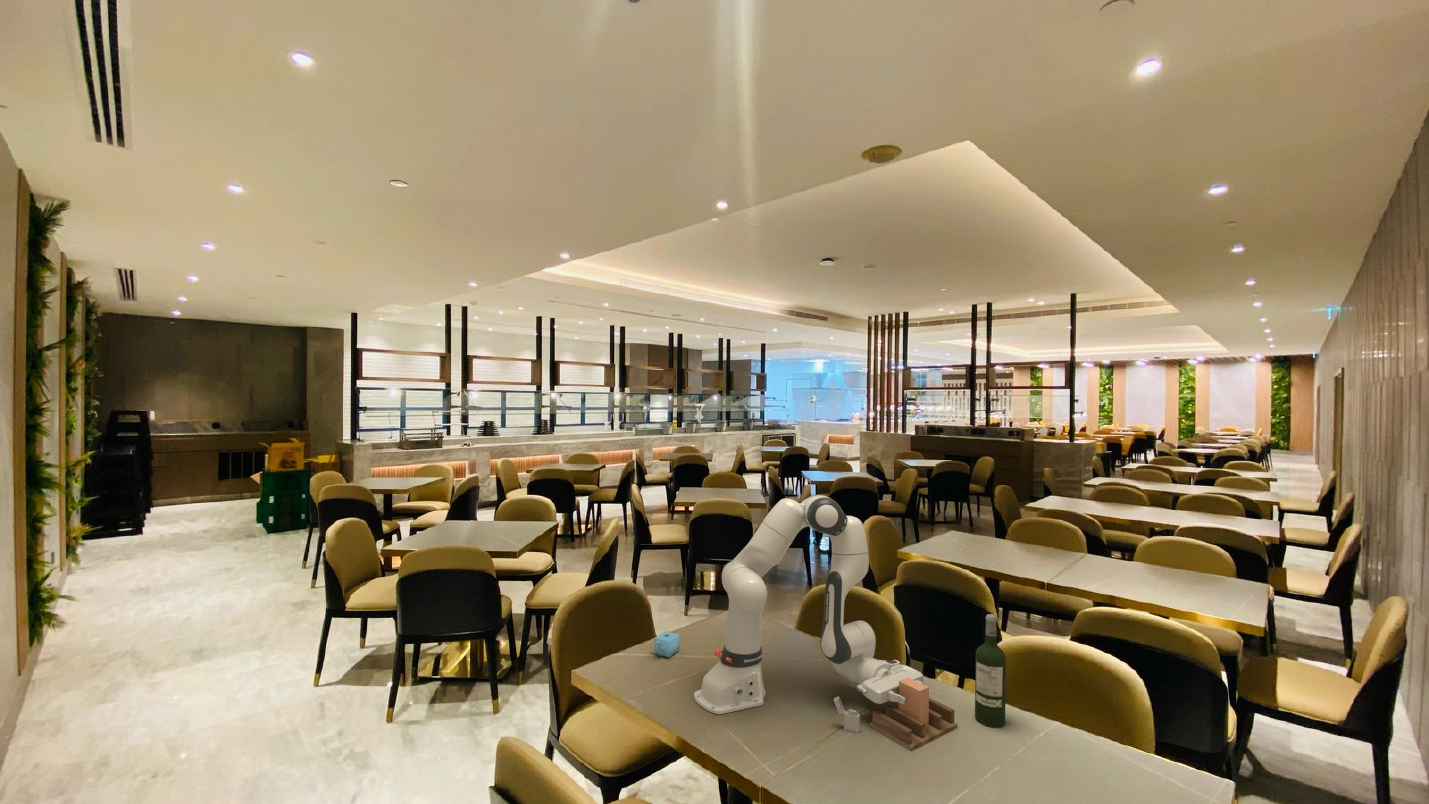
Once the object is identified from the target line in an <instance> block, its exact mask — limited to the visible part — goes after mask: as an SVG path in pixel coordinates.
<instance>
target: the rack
mask: <svg viewBox="0 0 1429 804" xmlns="http://www.w3.org/2000/svg"><path fill="white" fill-rule="evenodd" d="M869 727H870V728H872V729H873V730H875V731H877V732H879V733H880V734H882V735H884V736H886V737H887V738H889V739H890V738H891V739H890V740H892V741H894V742H896V743H897V744H899V745H901V746H903V747H904V746H905V747H904V748H906V749H908V750H909V749H910V750H909V751H911V752H912V751H913V750H916V749H918V748H919V747H921V746H924V745H925V744H926V745H927V744H928V743H930V742H932V741H934V740H936V739H937V738H939V737H941V736H943V735H944V736H945V734H947V733H950V732H951V731H953V730H955V729H958V723H956V722H955V709H953V708H952V707H949V706H947V705H945V704H944V703H941V702H940V701H937V700H935V699H933V698H931V697H929V727H927V728H925V723H923V722H921V721H919V720H917V719H915V718H913V717H912V716H910V715H908V714H906V713H904V712H902V711H900V710H899V708H896V707H895V706H893V705H890V704H888V705H886V706H885V714H884V713H882V712H881V711H878V710H874V711H872V722H869Z"/></svg>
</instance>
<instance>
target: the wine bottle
mask: <svg viewBox="0 0 1429 804" xmlns="http://www.w3.org/2000/svg"><path fill="white" fill-rule="evenodd" d="M997 620H998V619H997V616H996V615H995V614H991V613H989V614H986V616H985V636H984V637H985V638H984V639H985V640H984V642H983V644H981V645H979V646H978V647H977V648H976V651H975V667H974V668H975V669H974V670H975V675H974V676H975V679H974V680H975V681H974V682H975V683H974V717H975V720H976V721H977V722H978V723H980V724H981V725H983V726H986V727H988V728H994V729H995V728H996V729H997V728H998V729H999V728H1002V727H1003V726H1004V725H1006V698H1007V696H1006V691H1007V689H1006V687H1007V686H1006V683H1007V682H1006V681H1007V679H1006V678H1007V656H1006V654H1005V652H1004V651H1003V650H1002V648H1001V647H1000V646H999V644H998V640H997Z"/></svg>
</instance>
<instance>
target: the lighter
mask: <svg viewBox="0 0 1429 804" xmlns="http://www.w3.org/2000/svg"><path fill="white" fill-rule="evenodd" d="M833 702H834V704H835V707H836V709H837V712H838V715H843V723H844V724H843V729H844V730H845V731H850V732H854V733H860V731H861V714H860V713H858V711H856V710H855V709H851V708H849V709H848V710H845V707H844V704H843V703H842V700H841V698H840V696H836V697H834V698H833Z"/></svg>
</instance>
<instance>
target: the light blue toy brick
mask: <svg viewBox="0 0 1429 804" xmlns="http://www.w3.org/2000/svg"><path fill="white" fill-rule="evenodd" d="M680 636H681V635H680V633H675V632H669V631H666V630H665V631H663V632H662V633H661V634H659V635H657V636H656V637H654V654H655V655H657V656H659V657H661V656H662V657H666V658H667V659H670V658H672V656H673V655H676V654H677V652H679V651H680V648H681V647H680V644H681V643H680V640H681V639H680V638H681V637H680Z"/></svg>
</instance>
